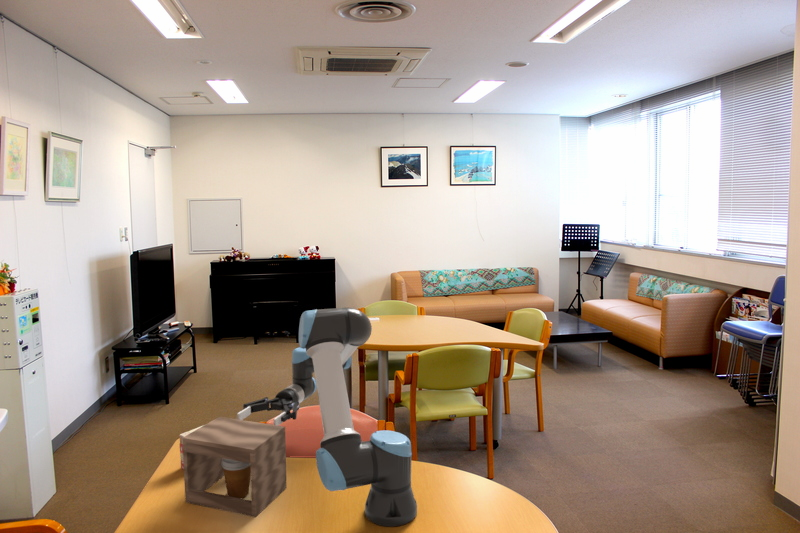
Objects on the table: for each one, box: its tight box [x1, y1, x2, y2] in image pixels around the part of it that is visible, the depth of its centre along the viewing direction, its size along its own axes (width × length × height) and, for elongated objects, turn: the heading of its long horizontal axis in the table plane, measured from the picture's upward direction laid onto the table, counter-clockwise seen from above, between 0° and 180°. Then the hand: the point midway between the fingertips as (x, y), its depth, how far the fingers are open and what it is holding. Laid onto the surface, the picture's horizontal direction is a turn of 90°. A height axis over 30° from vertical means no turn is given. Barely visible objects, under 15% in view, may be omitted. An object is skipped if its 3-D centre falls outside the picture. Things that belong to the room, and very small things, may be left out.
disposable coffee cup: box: [221, 459, 251, 499], centre depth 168 cm, size 10×10×12 cm
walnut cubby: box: [183, 416, 287, 518], centre depth 167 cm, size 17×24×20 cm
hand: (256, 420), depth 177 cm, fingers open, 13 cm apart
